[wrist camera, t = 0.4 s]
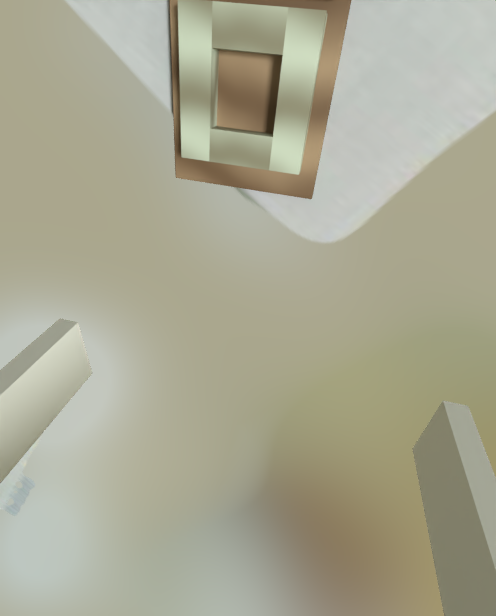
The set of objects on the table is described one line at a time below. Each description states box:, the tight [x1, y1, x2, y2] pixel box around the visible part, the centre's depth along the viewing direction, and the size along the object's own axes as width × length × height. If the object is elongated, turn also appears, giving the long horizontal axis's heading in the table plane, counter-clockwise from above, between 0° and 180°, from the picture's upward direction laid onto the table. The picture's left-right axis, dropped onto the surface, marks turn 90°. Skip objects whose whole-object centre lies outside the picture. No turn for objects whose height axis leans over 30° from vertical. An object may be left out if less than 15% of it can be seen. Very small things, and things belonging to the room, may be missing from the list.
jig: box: [170, 0, 351, 199], centre depth 28 cm, size 16×14×3 cm
